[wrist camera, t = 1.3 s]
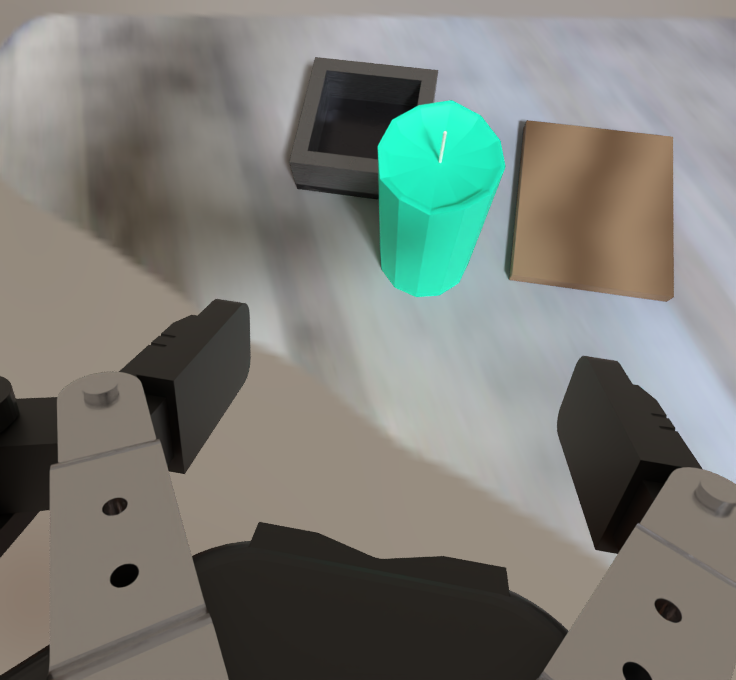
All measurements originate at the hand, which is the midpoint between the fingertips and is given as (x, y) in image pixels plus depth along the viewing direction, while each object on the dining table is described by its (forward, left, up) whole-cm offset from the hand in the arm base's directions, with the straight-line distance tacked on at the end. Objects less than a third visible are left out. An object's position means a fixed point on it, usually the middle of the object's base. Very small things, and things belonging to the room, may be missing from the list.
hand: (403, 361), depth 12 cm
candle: (0, -12, -18) cm, 22 cm away
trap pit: (+5, -20, -18) cm, 27 cm away
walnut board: (-11, -17, -18) cm, 27 cm away
